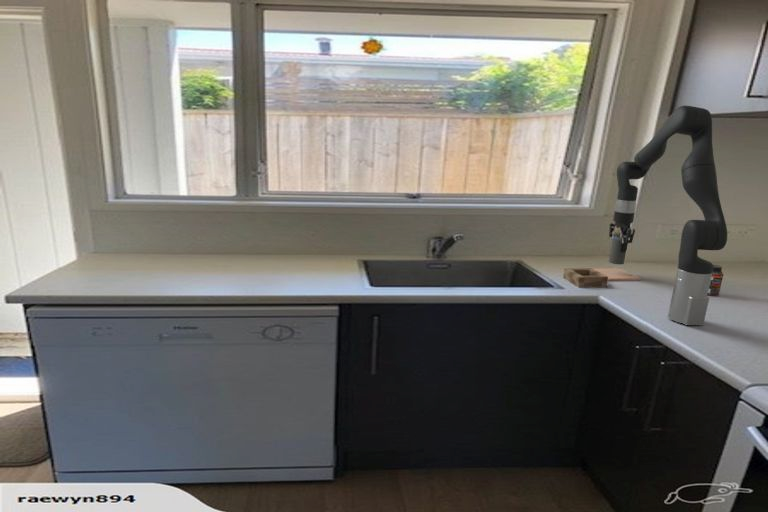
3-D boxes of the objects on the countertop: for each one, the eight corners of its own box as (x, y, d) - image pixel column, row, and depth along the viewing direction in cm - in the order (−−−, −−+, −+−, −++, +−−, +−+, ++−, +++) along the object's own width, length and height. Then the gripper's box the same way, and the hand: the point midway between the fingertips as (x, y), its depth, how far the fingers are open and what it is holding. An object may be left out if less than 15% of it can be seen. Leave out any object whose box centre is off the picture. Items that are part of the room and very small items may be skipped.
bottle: (608, 263, 193) (613, 228, 189) (609, 260, 198) (614, 226, 194) (623, 265, 190) (629, 230, 187) (624, 262, 195) (629, 227, 192)
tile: (639, 280, 190) (640, 278, 190) (608, 280, 188) (608, 278, 188) (619, 270, 203) (619, 268, 203) (589, 270, 202) (590, 268, 201)
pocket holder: (606, 286, 181) (608, 277, 180) (578, 287, 180) (579, 277, 179) (590, 277, 193) (591, 268, 191) (563, 277, 191) (564, 268, 190)
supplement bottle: (710, 297, 172) (716, 268, 169) (696, 291, 178) (702, 264, 175) (722, 296, 174) (729, 267, 171) (708, 290, 179) (714, 263, 176)
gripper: (644, 213, 182) (637, 254, 186) (622, 208, 196) (616, 246, 200) (627, 213, 181) (620, 254, 185) (606, 207, 195) (600, 246, 199)
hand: (618, 250), depth 193 cm, fingers closed on bottle, 5 cm apart
